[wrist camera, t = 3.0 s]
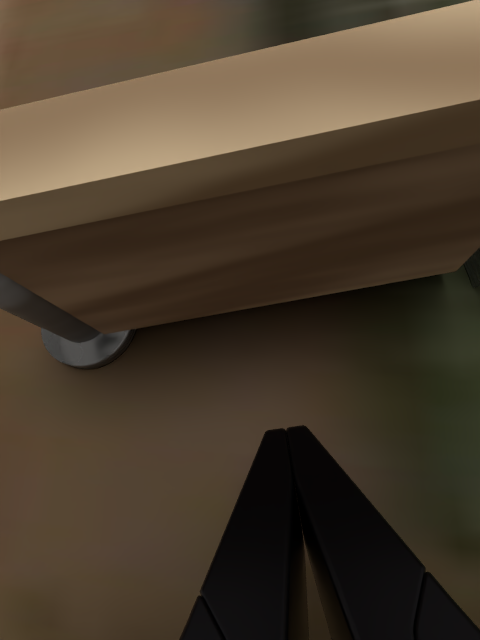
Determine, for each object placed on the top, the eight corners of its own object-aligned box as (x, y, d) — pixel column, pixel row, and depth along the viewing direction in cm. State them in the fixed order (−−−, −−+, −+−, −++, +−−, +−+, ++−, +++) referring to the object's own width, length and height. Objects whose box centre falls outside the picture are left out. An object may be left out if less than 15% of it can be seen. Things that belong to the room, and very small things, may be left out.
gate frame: (780, 250, 15) (1084, 131, 9) (50, 376, 17) (-68, 342, 11) (717, 165, 16) (945, 18, 11) (53, 291, 19) (-50, 225, 13)
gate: (458, 277, 15) (687, 55, 6) (58, 348, 16) (-201, 243, 8) (438, 225, 16) (616, -33, 7) (59, 296, 17) (-172, 149, 9)
